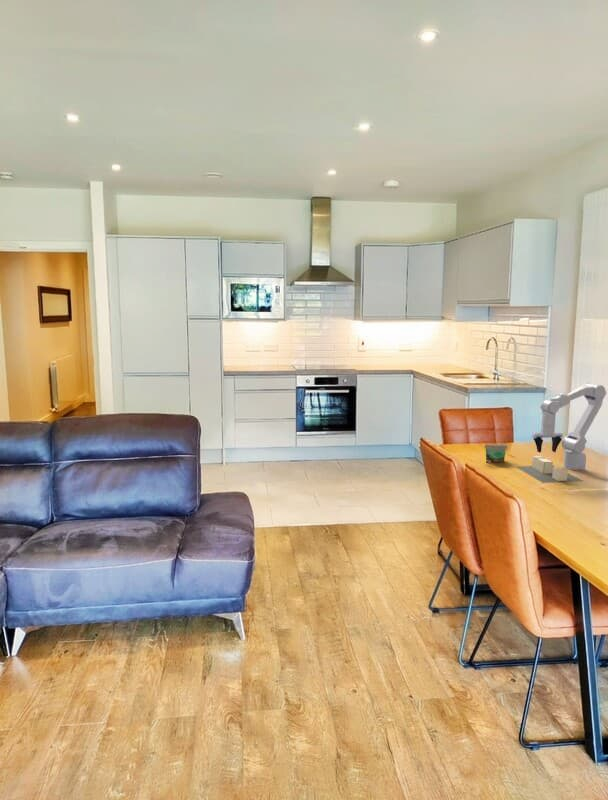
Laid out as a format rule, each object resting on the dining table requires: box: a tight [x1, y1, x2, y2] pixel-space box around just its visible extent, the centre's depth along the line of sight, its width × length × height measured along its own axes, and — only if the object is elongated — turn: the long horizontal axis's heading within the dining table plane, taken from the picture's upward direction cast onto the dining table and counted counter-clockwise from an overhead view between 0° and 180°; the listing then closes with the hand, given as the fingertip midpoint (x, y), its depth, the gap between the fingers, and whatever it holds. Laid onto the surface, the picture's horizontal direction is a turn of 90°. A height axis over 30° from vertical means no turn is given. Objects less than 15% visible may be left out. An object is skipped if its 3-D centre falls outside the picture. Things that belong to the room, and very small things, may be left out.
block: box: [552, 466, 569, 481], centre depth 256 cm, size 4×5×5 cm
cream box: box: [531, 455, 554, 474], centre depth 271 cm, size 4×11×6 cm, turn 6°
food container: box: [484, 442, 508, 465], centre depth 285 cm, size 12×6×10 cm, turn 105°
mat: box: [515, 465, 584, 484], centre depth 266 cm, size 20×26×1 cm
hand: (546, 451), depth 270 cm, fingers open, 7 cm apart
